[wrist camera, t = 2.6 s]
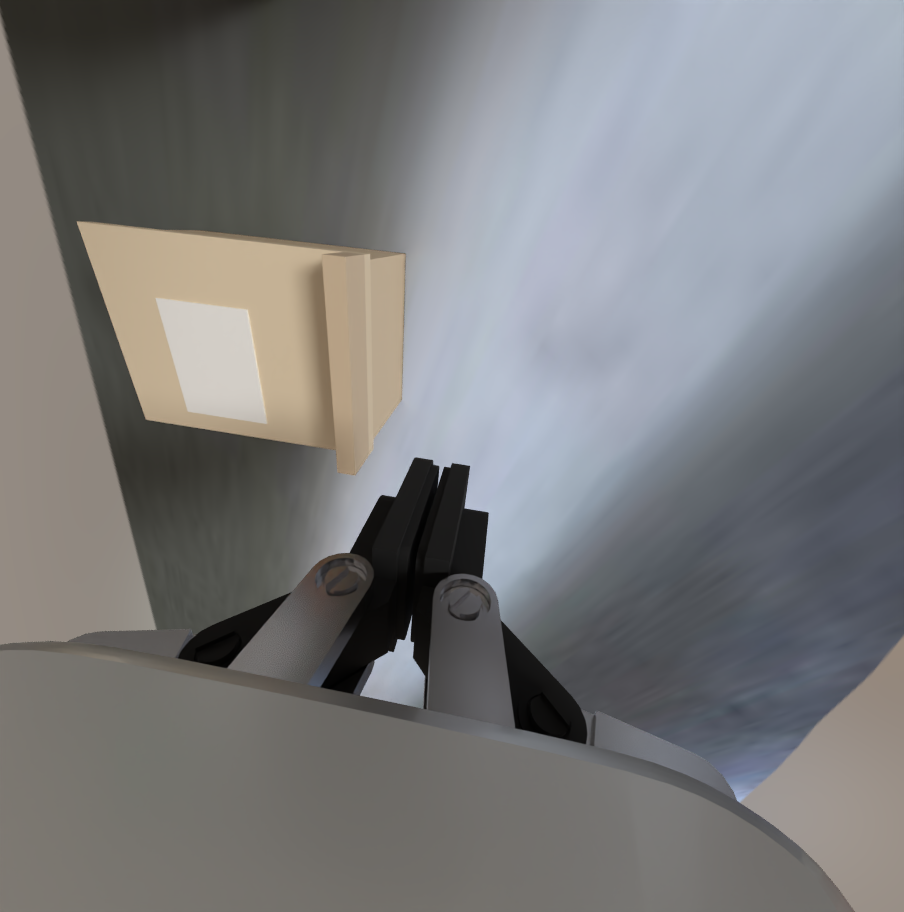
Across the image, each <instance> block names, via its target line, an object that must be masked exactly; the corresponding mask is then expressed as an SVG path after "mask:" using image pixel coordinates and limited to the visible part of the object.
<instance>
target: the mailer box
mask: <svg viewBox="0 0 904 912" xmlns="http://www.w3.org/2000/svg"><path fill="white" fill-rule="evenodd" d="M168 231H177V232H185V233H194V234H203V235H212V236H220V237H229V238H238V239H247V240H255V241H264V242H273V243H281V244H290V245H299V246H308V247H316V248H325V249H334V250H343V251H351V252H360V253H369V254H370V269H371V332H372V394H373V439H374V438H375V437H376V435H377V434H378V432H379V431H380V430H381V428H382V427H383V425H384V424H385V423H386V421H387V420H388V418H389V417H390V416H391V414H392V413H393V411H394V410H395V409H396V407H397V406H398V404H399V403H400V402H401V400H402V374H403V335H404V296H405V258H406V254H405V253H396V252H387V251H379V250H370V249H361V248H352V247H343V246H334V245H326V244H317V243H308V242H299V241H290V240H281V239H273V238H264V237H255V236H246V235H237V234H229V233H220V232H211V231H202V230H168Z"/></svg>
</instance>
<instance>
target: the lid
mask: <svg viewBox="0 0 904 912" xmlns="http://www.w3.org/2000/svg"><path fill="white" fill-rule="evenodd" d="M77 224H78V227H79V229H80V232H81V235H82V238H83V241H84V244H85V247H86V249H87V252H88V255H89V258H90V261H91V264H92V267H93V269H94V272H95V275H96V278H97V281H98V284H99V287H100V290H101V292H102V295H103V298H104V301H105V304H106V307H107V310H108V312H109V315H110V318H111V321H112V324H113V327H114V330H115V332H116V335H117V338H118V341H119V344H120V347H121V350H122V352H123V355H124V358H125V361H126V364H127V367H128V370H129V372H130V375H131V378H132V381H133V384H134V387H135V390H136V392H137V395H138V398H139V401H140V404H141V407H142V410H143V412H144V415H145V418H146V420H151V421H157V422H164V423H170V424H176V425H182V426H189V427H195V428H201V429H207V430H213V431H220V432H226V433H232V434H238V435H245V436H251V437H257V438H263V439H270V440H276V441H282V442H288V443H294V444H301V445H307V446H313V447H319V448H326V449H332V450H336V457H337V470H338V473H344V474H350V475H356V474H357V472H358V471H359V469H360V468H361V466H362V465H363V463H364V462H365V461H366V459H367V458H368V456H369V455H370V453H371V452H372V450H373V394H372V332H371V269H370V254H369V253H360V252H351V251H343V250H334V249H325V248H316V247H308V246H299V245H290V244H281V243H273V242H264V241H255V240H247V239H238V238H229V237H220V236H212V235H203V234H194V233H185V232H177V231H168V230H159V229H150V228H142V227H133V226H124V225H115V224H107V223H98V222H79V221H77Z"/></svg>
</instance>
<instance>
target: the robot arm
mask: <svg viewBox="0 0 904 912" xmlns="http://www.w3.org/2000/svg"><path fill="white" fill-rule="evenodd" d="M469 470H470V466H467V465H461V464H454V463H452V465H451V468H449V467H444V469H443V472H442V476H441V479H440V482H439V485H438V477H439V466H436V465H433V460H428V459H422V458H414V460H413V462H412V464H411V466H410V468H409V471H408V473H407V475H406V477H405V479H404V481H403V483H402V485H401V488H400V490H399V492H398V494H397V496H396V497H391V496H385V495H382V496H380V498H379V499H378V501H377V503H376V505H375V506H374V508H373V510H372V512H371V514H370V516H369V518H368V519H367V521H366V523H365V525H364V527H363V529H362V531H361V533H360V534H359V536H358V538H357V540H356V542H355V544H354V546H353V547H352V549H351V551H350V553H341V554H335V555H332V556H328V557H327V558H325V559H323V560H321V561H319V562H318V563H317V564H316V565H315V566H314V567H313V568H312V569H311V570H310V571H309V573H308V574H307V575H306V576H305V577H304V578H303V580H302V581H301V582H300V583H299V584H298V585H297V587H296V588H295V589H294V590H293V591H292V592H291V593H289V594H286V595H284V596H281V597H279V598H277V599H274V600H272V601H269V602H267V603H265V604H262V605H260V606H257V607H255V608H253V609H250V610H248V611H245V612H243V613H240V614H238V615H236V616H233V617H231V618H228V619H226V620H224V621H221V622H219V623H216V624H214V625H212V626H210V627H208V628H206V629H204V630H202V631H201V632H199V633H198V634H192V632H191V629H178V630H142V631H104V632H103V631H102V632H94V633H88V634H84V635H81V636H79V637H76V638H74V639H71V640H69V641H68V642H54V641H46V642H25V643H24V642H23V643H10V644H3V645H0V912H855V911H854V910H853V908H852V907H851V905H850V904H849V903H848V901H847V900H846V899H845V897H844V896H843V894H842V893H841V892H840V890H839V889H838V887H837V886H836V885H835V884H834V883H833V881H832V880H831V879H830V878H829V877H828V876H827V874H826V873H825V872H824V871H823V869H822V868H821V867H820V866H819V865H818V864H817V863H816V862H815V861H814V860H813V859H812V858H811V857H810V856H809V855H808V854H807V853H806V852H805V851H804V850H803V849H802V848H801V847H799V846H798V845H797V844H796V843H795V842H793V841H792V840H791V839H790V838H788V837H787V836H786V835H785V834H783V833H782V832H781V831H780V830H778V829H777V828H776V827H774V826H773V825H772V824H770V823H769V822H767V821H766V820H765V819H763V818H762V817H760V816H759V815H757V814H756V813H754V812H753V811H751V810H750V809H748V808H747V807H745V806H744V805H742V804H741V803H739V802H738V801H737V800H736V797H735V794H734V792H733V790H732V789H731V787H730V786H729V784H728V783H727V781H726V780H725V778H724V777H723V775H722V774H720V773H719V772H718V771H717V770H716V769H715V768H714V767H713V766H712V765H711V764H710V763H709V762H708V761H706V760H704V759H703V758H701V757H700V756H698V755H696V754H695V753H692V752H690V751H688V750H686V749H683V748H681V747H679V746H676V745H674V744H672V743H670V742H667V741H665V740H663V739H660V738H658V737H656V736H654V735H651V734H649V733H647V732H644V731H642V730H640V729H638V728H635V727H633V726H631V725H628V724H626V723H624V722H622V721H619V720H617V719H615V718H613V717H610V716H608V715H606V714H603V713H601V712H599V711H596V713H595V715H593V714H591V713H588V712H586V711H584V710H582V709H581V708H580V707H579V705H578V704H577V703H576V701H575V700H574V699H573V697H572V696H571V695H570V694H569V693H568V692H567V691H566V690H565V688H564V687H563V686H562V685H561V684H560V683H559V682H558V681H557V680H556V679H555V678H554V677H553V676H552V675H551V673H550V672H549V671H548V670H547V669H546V668H545V667H544V666H543V665H542V664H541V663H540V662H539V661H538V660H537V658H536V657H535V656H534V655H533V654H532V653H531V652H530V651H529V650H528V649H527V648H526V647H525V646H524V644H523V643H522V642H521V641H520V640H519V639H518V638H517V637H516V636H515V635H514V634H513V633H512V632H511V631H510V629H509V628H508V627H507V626H506V625H505V624H504V623H503V622H502V621H501V618H500V611H499V604H498V599H497V596H496V592H495V591H494V590H493V588H492V587H491V586H490V585H489V584H488V583H487V582H486V581H484V580H483V579H482V576H483V566H484V556H485V546H486V535H487V525H488V514H489V513H488V512H482V511H476V510H470V509H464V507H465V499H466V492H467V485H468V477H469ZM411 617H412V626H411V642H414V652H413V658H414V660H415V661H416V663H417V664H418V666H419V667H420V669H421V670H422V672H423V673H424V675H425V680H424V697H423V709H421V708H417V707H412V706H407V705H402V704H397V703H393V702H388V701H383V700H378V699H373V698H369V697H364V696H360V694H361V692H362V690H363V688H364V686H365V684H366V682H367V680H368V678H369V676H370V674H371V672H372V669H373V666H374V660H376V659H377V658H379V657H381V656H383V655H384V654H386V653H388V651H391V652H394V649H395V646H396V643H397V639H401V640H405V638H406V635H407V631H408V627H409V624H410V620H411Z"/></svg>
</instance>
